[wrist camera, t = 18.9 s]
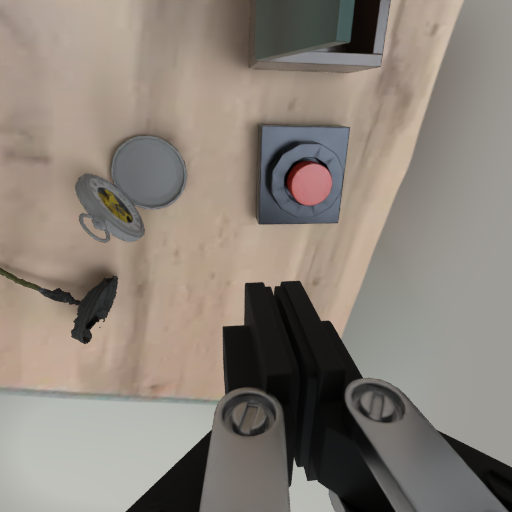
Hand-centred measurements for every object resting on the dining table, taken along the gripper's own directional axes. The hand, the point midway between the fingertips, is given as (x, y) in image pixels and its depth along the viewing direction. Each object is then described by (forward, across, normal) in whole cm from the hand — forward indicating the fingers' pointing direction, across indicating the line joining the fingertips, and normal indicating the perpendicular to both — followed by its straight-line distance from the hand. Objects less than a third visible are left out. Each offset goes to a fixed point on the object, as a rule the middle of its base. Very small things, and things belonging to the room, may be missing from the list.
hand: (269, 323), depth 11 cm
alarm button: (+22, -7, 0) cm, 23 cm away
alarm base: (+25, -7, 0) cm, 26 cm away
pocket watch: (+25, +8, 0) cm, 27 cm away
